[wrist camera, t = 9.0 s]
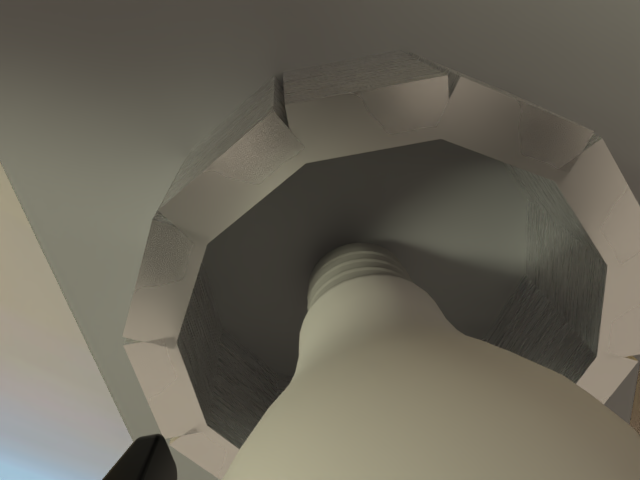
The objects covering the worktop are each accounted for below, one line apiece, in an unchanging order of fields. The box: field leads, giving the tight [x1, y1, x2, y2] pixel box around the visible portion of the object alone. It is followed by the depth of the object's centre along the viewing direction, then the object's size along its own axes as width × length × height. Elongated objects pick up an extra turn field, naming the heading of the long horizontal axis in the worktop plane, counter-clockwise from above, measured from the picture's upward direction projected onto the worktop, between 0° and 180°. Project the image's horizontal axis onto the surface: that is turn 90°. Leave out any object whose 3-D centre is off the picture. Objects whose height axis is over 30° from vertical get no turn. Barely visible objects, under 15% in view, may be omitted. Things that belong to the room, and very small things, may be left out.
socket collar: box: [122, 50, 640, 480], centre depth 12 cm, size 10×10×4 cm
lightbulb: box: [222, 243, 640, 480], centre depth 8 cm, size 6×6×11 cm
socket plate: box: [0, 0, 640, 480], centre depth 14 cm, size 16×16×2 cm
